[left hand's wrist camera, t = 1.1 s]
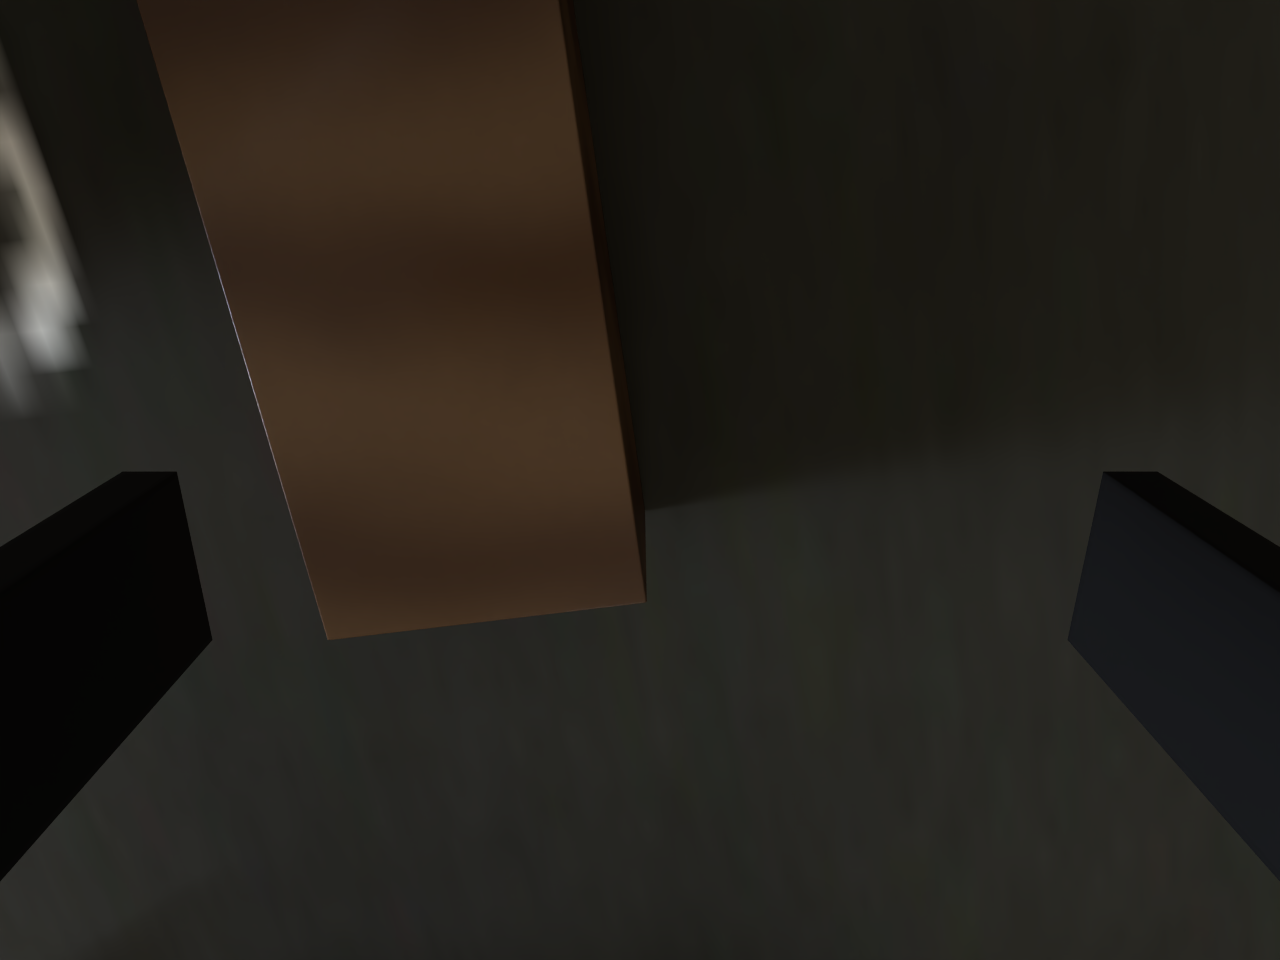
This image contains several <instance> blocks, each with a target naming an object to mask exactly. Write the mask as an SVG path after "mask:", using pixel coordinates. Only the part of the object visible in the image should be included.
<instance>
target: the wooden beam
mask: <svg viewBox="0 0 1280 960" xmlns="http://www.w3.org/2000/svg"><path fill="white" fill-rule="evenodd" d="M136 1H137V4H138V7H139V11H140V14H141V17H142V21H143V24H144V27H145V31H146V34H147V37H148V41H149V44H150V47H151V51H152V54H153V57H154V61H155V64H156V67H157V71H158V74H159V77H160V81H161V84H162V87H163V91H164V94H165V97H166V101H167V104H168V107H169V111H170V114H171V117H172V121H173V124H174V127H175V131H176V134H177V137H178V141H179V144H180V147H181V151H182V154H183V157H184V161H185V164H186V167H187V171H188V174H189V177H190V181H191V184H192V188H193V191H194V194H195V198H196V201H197V204H198V208H199V211H200V214H201V218H202V221H203V224H204V228H205V231H206V234H207V238H208V241H209V244H210V248H211V251H212V254H213V258H214V261H215V264H216V268H217V271H218V274H219V278H220V281H221V284H222V288H223V291H224V294H225V298H226V301H227V304H228V308H229V311H230V314H231V318H232V321H233V324H234V328H235V331H236V334H237V338H238V341H239V344H240V348H241V351H242V354H243V358H244V361H245V364H246V368H247V371H248V374H249V378H250V381H251V385H252V388H253V391H254V395H255V398H256V401H257V405H258V408H259V411H260V415H261V418H262V421H263V425H264V428H265V431H266V435H267V438H268V441H269V445H270V448H271V451H272V455H273V458H274V461H275V465H276V468H277V471H278V475H279V478H280V481H281V485H282V488H283V491H284V495H285V498H286V501H287V505H288V508H289V511H290V515H291V518H292V521H293V525H294V528H295V531H296V535H297V538H298V541H299V545H300V548H301V551H302V555H303V558H304V561H305V565H306V568H307V572H308V575H309V578H310V582H311V585H312V588H313V592H314V595H315V598H316V602H317V605H318V608H319V612H320V615H321V618H322V622H323V625H324V628H325V632H326V635H327V638H328V640H333V639H342V638H350V637H359V636H367V635H375V634H384V633H392V632H401V631H409V630H418V629H426V628H435V627H443V626H451V625H460V624H468V623H477V622H485V621H494V620H502V619H511V618H519V617H527V616H536V615H544V614H553V613H561V612H570V611H578V610H587V609H595V608H604V607H612V606H620V605H629V604H637V603H645V602H646V601H647V591H646V540H645V508H644V501H643V494H642V487H641V480H640V473H639V466H638V459H637V451H636V444H635V437H634V430H633V423H632V416H631V409H630V402H629V395H628V388H627V381H626V373H625V366H624V359H623V352H622V345H621V338H620V331H619V324H618V317H617V310H616V302H615V295H614V288H613V281H612V274H611V267H610V260H609V253H608V246H607V239H606V232H605V224H604V217H603V210H602V203H601V196H600V189H599V182H598V175H597V168H596V161H595V154H594V146H593V139H592V132H591V125H590V118H589V111H588V104H587V97H586V90H585V83H584V75H583V68H582V61H581V54H580V47H579V40H578V33H577V26H576V19H575V12H574V5H573V0H136Z"/></svg>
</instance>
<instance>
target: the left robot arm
mask: <svg viewBox="0 0 1280 960" xmlns="http://www.w3.org/2000/svg"><path fill="white" fill-rule="evenodd" d="M211 641H212V636H211V631H210V626H209V622H208V617H207V612H206V607H205V603H204V598H203V593H202V589H201V584H200V579H199V575H198V570H197V565H196V560H195V556H194V551H193V546H192V542H191V537H190V532H189V527H188V523H187V518H186V513H185V509H184V504H183V499H182V494H181V490H180V485H179V480H178V476H177V472H121V473H120V474H118V475H116V476H115V477H113V478H112V479H110V480H108V481H107V482H105V483H103V484H102V485H100V486H99V487H97V488H95V489H94V490H92V491H90V492H89V493H87V494H86V495H84V496H82V497H81V498H79V499H77V500H76V501H74V502H73V503H71V504H69V505H68V506H66V507H64V508H63V509H61V510H60V511H58V512H56V513H55V514H53V515H51V516H50V517H48V518H47V519H45V520H43V521H42V522H40V523H38V524H37V525H35V526H34V527H32V528H30V529H29V530H27V531H25V532H24V533H22V534H21V535H19V536H17V537H16V538H14V539H12V540H11V541H9V542H8V543H6V544H4V545H3V546H1V547H0V881H1V880H2V879H3V878H4V876H5V875H6V874H7V873H8V872H9V871H10V870H11V868H12V867H13V866H14V865H15V864H16V863H17V862H18V860H19V859H20V858H21V857H22V856H23V855H24V854H25V853H26V851H27V850H28V849H29V848H30V847H31V846H32V845H33V843H34V842H35V841H36V840H37V839H38V838H39V837H40V835H41V834H42V833H43V832H44V831H45V830H46V829H47V827H48V826H49V825H50V824H51V823H52V822H53V821H54V820H55V818H56V817H57V816H58V815H59V814H60V813H61V812H62V810H63V809H64V808H65V807H66V806H67V805H68V804H69V802H70V801H71V800H72V799H73V798H74V797H75V796H76V794H77V793H78V792H79V791H80V790H81V789H82V788H83V787H84V785H85V784H86V783H87V782H88V781H89V780H90V779H91V777H92V776H93V775H94V774H95V773H96V772H97V771H98V769H99V768H100V767H101V766H102V765H103V764H104V763H105V761H106V760H107V759H108V758H109V757H110V756H111V755H112V754H113V752H114V751H115V750H116V749H117V748H118V747H119V746H120V744H121V743H122V742H123V741H124V740H125V739H126V738H127V736H128V735H129V734H130V733H131V732H132V731H133V730H134V728H135V727H136V726H137V725H138V724H139V723H140V722H141V721H142V719H143V718H144V717H145V716H146V715H147V714H148V713H149V711H150V710H151V709H152V708H153V707H154V706H155V705H156V703H157V702H158V701H159V700H160V699H161V698H162V697H163V695H164V694H165V693H166V692H167V691H168V690H169V689H170V687H171V686H172V685H173V684H174V683H175V682H176V681H177V680H178V678H179V677H180V676H181V675H182V674H183V673H184V672H185V670H186V669H187V668H188V667H189V666H190V665H191V664H192V662H193V661H194V660H195V659H196V658H197V657H198V656H199V654H200V653H201V652H202V651H203V650H204V649H205V648H206V647H207V645H208V644H209V643H210V642H211ZM1068 641H1069V642H1070V643H1071V644H1072V645H1073V647H1074V648H1075V649H1076V650H1077V651H1078V652H1079V653H1080V654H1081V656H1082V657H1083V658H1084V659H1085V660H1086V661H1087V662H1088V664H1089V665H1090V666H1091V667H1092V668H1093V669H1094V670H1095V672H1096V673H1097V674H1098V675H1099V676H1100V677H1101V678H1102V680H1103V681H1104V682H1105V683H1106V684H1107V685H1108V686H1109V687H1110V689H1111V690H1112V691H1113V692H1114V693H1115V694H1116V695H1117V697H1118V698H1119V699H1120V700H1121V701H1122V702H1123V703H1124V705H1125V706H1126V707H1127V708H1128V709H1129V710H1130V711H1131V713H1132V714H1133V715H1134V716H1135V717H1136V718H1137V719H1138V721H1139V722H1140V723H1141V724H1142V725H1143V726H1144V727H1145V728H1146V730H1147V731H1148V732H1149V733H1150V734H1151V735H1152V736H1153V738H1154V739H1155V740H1156V741H1157V742H1158V743H1159V744H1160V746H1161V747H1162V748H1163V749H1164V750H1165V751H1166V752H1167V754H1168V755H1169V756H1170V757H1171V758H1172V759H1173V760H1174V761H1175V763H1176V764H1177V765H1178V766H1179V767H1180V768H1181V769H1182V771H1183V772H1184V773H1185V774H1186V775H1187V776H1188V777H1189V779H1190V780H1191V781H1192V782H1193V783H1194V784H1195V785H1196V787H1197V788H1198V789H1199V790H1200V791H1201V792H1202V793H1203V794H1204V796H1205V797H1206V798H1207V799H1208V800H1209V801H1210V802H1211V804H1212V805H1213V806H1214V807H1215V808H1216V809H1217V810H1218V812H1219V813H1220V814H1221V815H1222V816H1223V817H1224V818H1225V820H1226V821H1227V822H1228V823H1229V824H1230V825H1231V826H1232V827H1233V829H1234V830H1235V831H1236V832H1237V833H1238V834H1239V835H1240V837H1241V838H1242V839H1243V840H1244V841H1245V842H1246V843H1247V845H1248V846H1249V847H1250V848H1251V849H1252V850H1253V851H1254V853H1255V854H1256V855H1257V856H1258V857H1259V858H1260V859H1261V861H1262V862H1263V863H1264V864H1265V865H1266V866H1267V867H1268V868H1269V870H1270V871H1271V872H1272V873H1273V874H1274V875H1275V876H1276V878H1277V879H1278V880H1279V881H1280V547H1279V546H1277V545H1276V544H1274V543H1272V542H1271V541H1269V540H1268V539H1266V538H1264V537H1263V536H1261V535H1259V534H1258V533H1256V532H1255V531H1253V530H1251V529H1250V528H1248V527H1246V526H1245V525H1243V524H1242V523H1240V522H1238V521H1237V520H1235V519H1233V518H1232V517H1230V516H1229V515H1227V514H1225V513H1224V512H1222V511H1220V510H1219V509H1217V508H1216V507H1214V506H1212V505H1211V504H1209V503H1207V502H1206V501H1204V500H1203V499H1201V498H1199V497H1198V496H1196V495H1194V494H1193V493H1191V492H1190V491H1188V490H1186V489H1185V488H1183V487H1181V486H1180V485H1178V484H1177V483H1175V482H1173V481H1172V480H1170V479H1168V478H1167V477H1165V476H1164V475H1162V474H1160V473H1159V472H1103V476H1102V480H1101V485H1100V490H1099V494H1098V499H1097V504H1096V509H1095V513H1094V518H1093V523H1092V527H1091V532H1090V537H1089V542H1088V546H1087V551H1086V556H1085V560H1084V565H1083V570H1082V574H1081V579H1080V584H1079V589H1078V593H1077V598H1076V603H1075V607H1074V612H1073V617H1072V622H1071V626H1070V631H1069V636H1068Z"/></svg>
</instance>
